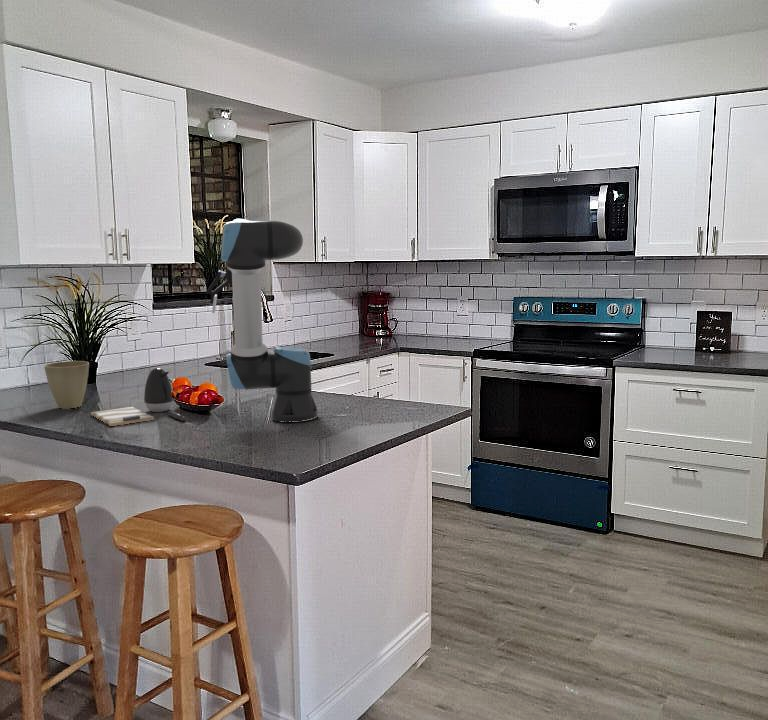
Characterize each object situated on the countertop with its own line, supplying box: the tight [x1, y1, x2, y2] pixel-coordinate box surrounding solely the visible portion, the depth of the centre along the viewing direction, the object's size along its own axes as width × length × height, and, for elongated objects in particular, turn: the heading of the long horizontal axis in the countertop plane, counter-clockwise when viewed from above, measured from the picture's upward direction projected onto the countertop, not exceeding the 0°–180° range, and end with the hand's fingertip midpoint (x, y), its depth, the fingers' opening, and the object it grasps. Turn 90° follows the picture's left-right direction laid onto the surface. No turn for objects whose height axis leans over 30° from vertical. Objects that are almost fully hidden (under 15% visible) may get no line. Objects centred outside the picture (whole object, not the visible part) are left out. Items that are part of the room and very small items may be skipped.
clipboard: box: [90, 406, 155, 427], centre depth 249 cm, size 22×14×2 cm, turn 36°
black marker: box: [167, 410, 187, 422], centre depth 246 cm, size 14×2×2 cm, turn 36°
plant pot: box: [43, 360, 90, 410], centre depth 267 cm, size 15×15×16 cm
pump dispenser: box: [143, 367, 175, 413], centre depth 258 cm, size 10×10×15 cm
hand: (231, 315), depth 280 cm, fingers open, 13 cm apart
